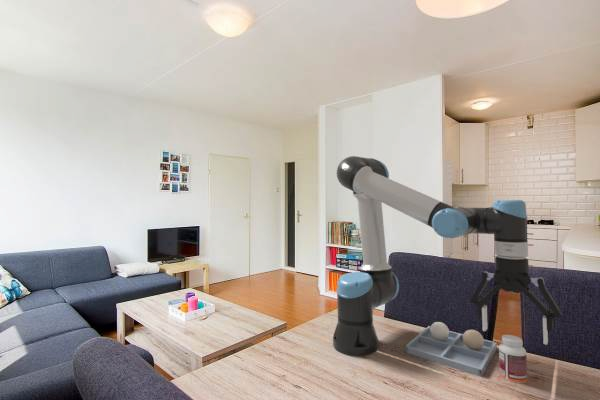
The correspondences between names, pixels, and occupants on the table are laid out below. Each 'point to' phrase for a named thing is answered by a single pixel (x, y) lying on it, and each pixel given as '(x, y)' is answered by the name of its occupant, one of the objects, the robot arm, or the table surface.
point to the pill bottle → (512, 359)
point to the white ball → (439, 331)
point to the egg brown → (473, 339)
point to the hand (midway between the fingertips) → (513, 335)
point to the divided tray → (452, 352)
